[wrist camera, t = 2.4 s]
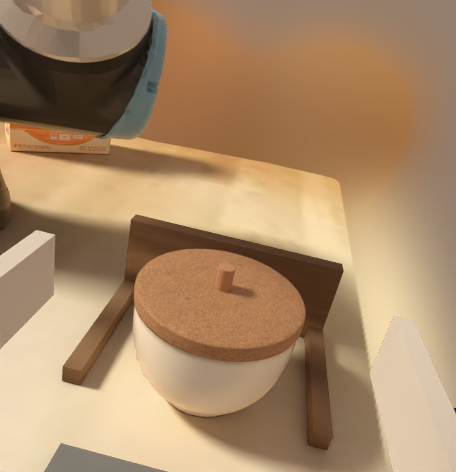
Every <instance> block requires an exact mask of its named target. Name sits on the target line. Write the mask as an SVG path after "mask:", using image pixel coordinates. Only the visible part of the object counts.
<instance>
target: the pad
mask: <svg viewBox="0 0 456 472" xmlns="http://www.w3.org/2000/svg"><path fill="white" fill-rule="evenodd" d="M44 472H166V471H162V470H159V469H155V468H151V467H148V466H144V465H140V464H136V463H133V462H129V461H125V460H121V459H118V458H114V457H110V456H107V455H103V454H99V453H95V452H92V451H88V450H84V449H80V448H77V447H73V446H69V445H65V444H62V443H61V444H60V446H59V447H58V449H57V451H56V453H55V454H54V456H53V458H52V459H51V461H50V463H49V465H48V466H47V468H46V470H45V471H44Z"/></svg>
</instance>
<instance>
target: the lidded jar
mask: <svg viewBox="0 0 456 472" xmlns="http://www.w3.org/2000/svg"><path fill="white" fill-rule="evenodd" d="M305 318H306V309H305V305H304V302H303V300H302V298H301V296H300V294H299V292H298V291H297V289H296V288H295V287H294V286H293V285H292V284H291V283H290V282H289V281H288V280H287V279H286V278H285V277H284V276H282V275H281V274H280V273H278V272H277V271H275V270H274V269H272V268H270V267H269V266H267V265H265V264H263V263H261V262H258V261H256V260H253V259H251V258H248V257H245V256H242V255H239V254H235V253H231V252H226V251H220V250H212V249H184V250H178V251H173V252H169V253H165V254H163V255H161V256H158V257H156V258H155V259H153V260H151V261H150V262H148V263H147V264H146V265H145V266H144V267H143V268H142V269H141V271H140V272H139V273H138V275H137V278H136V281H135V287H134V315H133V340H134V346H135V351H136V357H137V360H138V362H139V365H140V367H141V370H142V372H143V375H144V376H145V378H146V379H147V381H148V382H149V383H150V385H151V386H152V387H153V389H154V390H155V391H156V392H157V393H158V394H159V395H160V396H162V397H163V398H164V399H166V400H167V401H168V402H169V403H170V404H171V405H172V406H174V407H175V408H177V409H178V410H180V411H182V412H184V413H187V414H190V415H193V416H198V417H216V416H220V415H224V414H228V413H232V412H236V411H239V410H241V409H244V408H246V407H248V406H250V405H252V404H253V403H255V402H256V401H258V400H259V399H261V398H262V397H263V396H264V395H265V394H266V393H267V392H268V391H269V390H270V389H271V388H272V387H273V386H274V384H275V383H276V381H277V380H278V378H279V377H280V375H281V374H282V372H283V370H284V368H285V367H286V365H287V363H288V361H289V359H290V356H291V354H292V351H293V349H294V346H295V343H296V340H297V339H298V337H299V335H300V334H301V331H302V328H303V325H304V321H305Z"/></svg>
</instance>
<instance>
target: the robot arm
mask: <svg viewBox="0 0 456 472" xmlns="http://www.w3.org/2000/svg"><path fill="white" fill-rule="evenodd" d="M166 37H167V24H166V20H165V18H164V17H163V16H162V15H161V14H160V13H157V12H155V11H154V10H153V9H152V4H151V0H0V122H3V123H10V124H17V125H24V126H30V127H37V128H43V129H49V130H56V131H62V132H68V133H74V134H80V135H86V136H92V137H96V138H98V139H107V138H115V139H125V140H130V139H134V138H136V137H138V136H139V135H141V134H142V133H143V131H144V130H145V128H146V126H147V124H148V122H149V119H150V117H151V114H152V111H153V108H154V104H155V100H156V96H157V86H158V85H159V80H160V77H161V74H162V69H163V63H164V57H165V49H166V40H167V38H166ZM10 216H11V209H10V194H9V191H8V188H7V187H6V184H5V181H4V179H3V176H2V173H1V171H0V230H1V229H2V228H3V227H4V226H5V225H6V224H7V223H8V221H9V219H10ZM54 262H55V234H50V233H46V232H42V231H38V230H36V231H34V232H33V233H32V234H30V235H29V236H27V237H26V238H24V239H23V240H22V241H20V242H19V243H17V244H16V245H14V246H13V247H12V248H10V249H9V250H7V251H6V252H4V253H3V254H2V255H0V349H1V348H2V347H3V346H4V345H5V344H6V343H7V342H8V341H9V340H10V339H11V338H12V337H13V336H14V335H15V334H16V333H17V332H18V330H19V329H20V328H21V327H22V326H23V325H24V324H25V323H26V322H27V321H28V320H29V319H30V318H31V317H32V316H33V315H34V314H35V313H36V312H37V311H38V310H39V309H40V308H41V307H42V306H43V305H44V304H45V303H46V302H47V301H48V300H49V299H50V298H51V297H52V296H53V295H54ZM370 376H371V381H372V385H373V389H374V393H375V398H376V402H377V406H378V410H379V415H380V419H381V423H382V427H383V431H384V436H385V440H386V444H387V448H388V453H389V457H390V461H391V465H392V469H393V472H456V408H453V406H452V404H451V402H450V400H449V397H448V395H447V393H446V391H445V389H444V386H443V384H442V382H441V379H440V377H439V375H438V373H437V370H436V368H435V366H434V364H433V362H432V359H431V357H430V355H429V353H428V350H427V348H426V346H425V344H424V341H423V339H422V337H421V335H420V333H419V330H418V328H417V326H416V323H415V321H412V320H407V319H403V318H399V317H395V316H394V317H393V320H392V322H391V324H390V327H389V329H388V331H387V334H386V336H385V338H384V341H383V343H382V345H381V348H380V350H379V353H378V355H377V357H376V359H375V362H374V364H373V366H372V369H371V371H370Z"/></svg>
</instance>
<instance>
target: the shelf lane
mask: <svg viewBox="0 0 456 472" xmlns="http://www.w3.org/2000/svg"><path fill="white" fill-rule="evenodd" d="M184 249H212V250H220V251H226V252H231V253H235V254H239V255H242V256H245V257H248V258H251V259H253V260H256V261H258V262H261V263H263V264H265V265H267V266H269V267H270V268H272V269H274V270H275V271H277V272H278V273H280V274H281V275H282V276H284V277H285V278H286V279H287V280H288V281H289V282H290V283H291V284H292V285H293V286H294V287H295V288H296V289H297V291H298V292H299V294H300V296H301V298H302V300H303V302H304V305H305V309H306V318H305V321H304V325H303V328H302V331H301V334H300V335H299V336H302V337H305V360H306V390H307V420H308V445H311V446H315V447H318V448H322V449H326V450H327V449H328V446H329V444H330V442H331V439H332V437H333V434H332V424H331V413H330V403H329V392H328V382H327V371H326V361H325V350H324V340H323V327H324V324H325V321H326V318H327V316H328V313H329V310H330V307H331V305H332V302H333V299H334V296H335V293H336V291H337V288H338V285H339V282H340V280H341V277H342V274H343V266H342V264H340V263H335V262H331V261H327V260H323V259H319V258H315V257H311V256H306V255H302V254H298V253H294V252H290V251H286V250H281V249H277V248H273V247H269V246H265V245H261V244H257V243H252V242H248V241H244V240H240V239H236V238H232V237H228V236H223V235H219V234H215V233H211V232H207V231H203V230H198V229H194V228H190V227H186V226H182V225H178V224H174V223H169V222H165V221H161V220H157V219H153V218H149V217H144V216H140V215H135V216H134V217H133V218H132V219H131V225H130V234H129V244H128V253H127V262H126V271H125V280H124V282H123V283H122V285H121V286H120V287H119V289H118V290H117V292H116V293H115V294H114V296H113V297H112V298H111V300H110V301H109V303H108V304H107V305H106V307H105V308H104V310H103V311H102V312H101V314H100V315H99V317H98V318H97V319H96V321H95V322H94V324H93V325H92V326H91V328H90V329H89V331H88V332H87V333H86V335H85V336H84V338H83V339H82V340H81V342H80V343H79V345H78V346H77V347H76V349H75V350H74V352H73V353H72V354H71V356H70V357H69V358H68V360H67V361H66V363H65V364H64V365H63V373H62V381H66V382H69V383H73V384H77V385H80V384H81V383H82V381H83V380H84V378H85V376H86V375H87V373H88V372H89V370H90V368H91V367H92V365H93V364H94V362H95V360H96V359H97V357H98V356H99V354H100V352H101V351H102V349H103V348H104V346H105V345H106V343H107V341H108V340H109V338H110V337H111V335H112V333H113V332H114V330H115V329H116V327H117V325H118V324H119V322H120V321H121V319H122V317H123V316H124V314H125V313H126V311H127V309H128V308H129V306H130V305H131V303H132V301H133V300H134V287H135V281H136V278H137V275H138V273H139V272H140V271H141V269H142V268H143V267H144V266H145V265H146V264H147V263H148V262H150V261H151V260H153V259H155V258H156V257H158V256H161V255H163V254H165V253H169V252H173V251H178V250H184Z"/></svg>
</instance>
